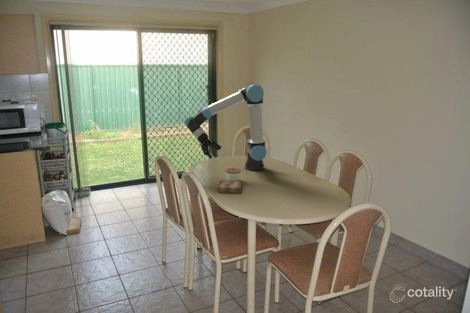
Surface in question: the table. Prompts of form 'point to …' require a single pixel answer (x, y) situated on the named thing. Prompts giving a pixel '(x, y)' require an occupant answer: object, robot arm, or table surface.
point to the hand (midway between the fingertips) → (219, 159)
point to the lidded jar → (233, 174)
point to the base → (229, 186)
